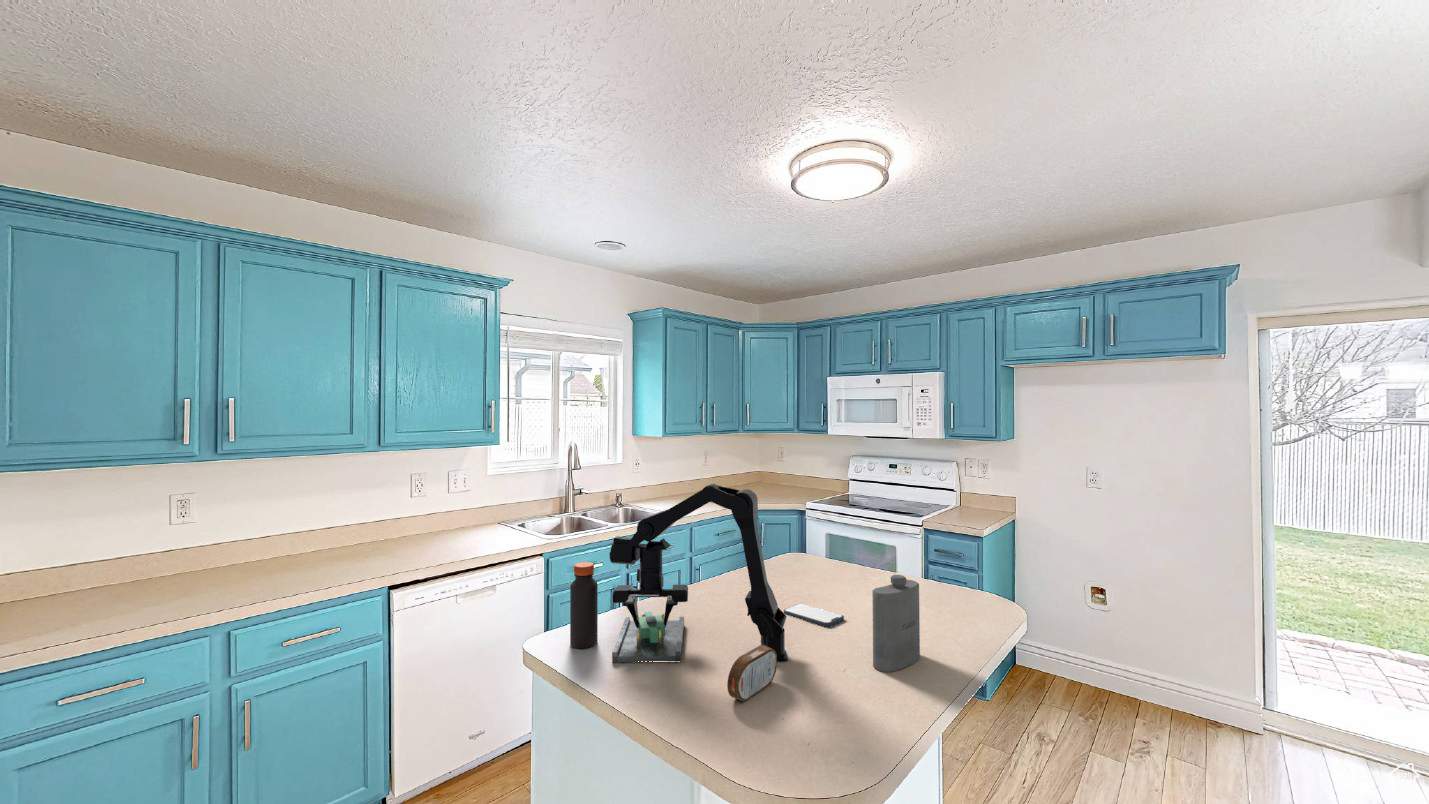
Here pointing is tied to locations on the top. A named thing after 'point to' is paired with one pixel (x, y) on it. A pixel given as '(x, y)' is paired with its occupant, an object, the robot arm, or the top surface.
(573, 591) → the bottle
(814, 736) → the top surface
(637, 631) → the chassis
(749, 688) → the tin
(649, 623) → the green block piece
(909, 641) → the flask
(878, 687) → the top surface
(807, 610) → the phone case
